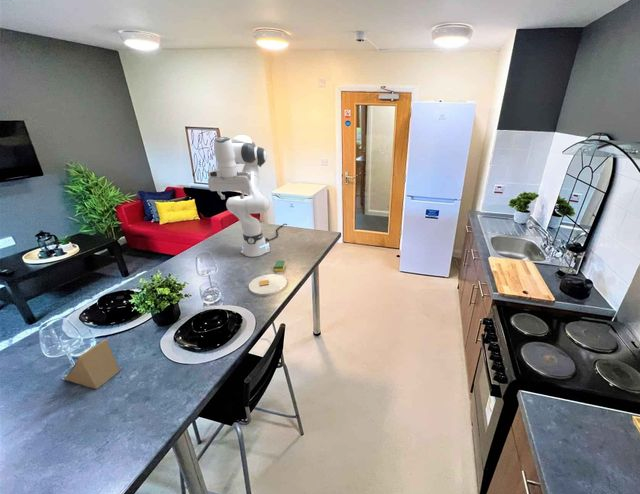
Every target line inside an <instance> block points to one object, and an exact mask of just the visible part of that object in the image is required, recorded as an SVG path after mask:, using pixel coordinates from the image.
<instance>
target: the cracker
mask: <svg viewBox="0 0 640 494" xmlns="http://www.w3.org/2000/svg"><path fill="white" fill-rule="evenodd" d="M265 285H269V280H262V281H260V286H265Z"/></svg>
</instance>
